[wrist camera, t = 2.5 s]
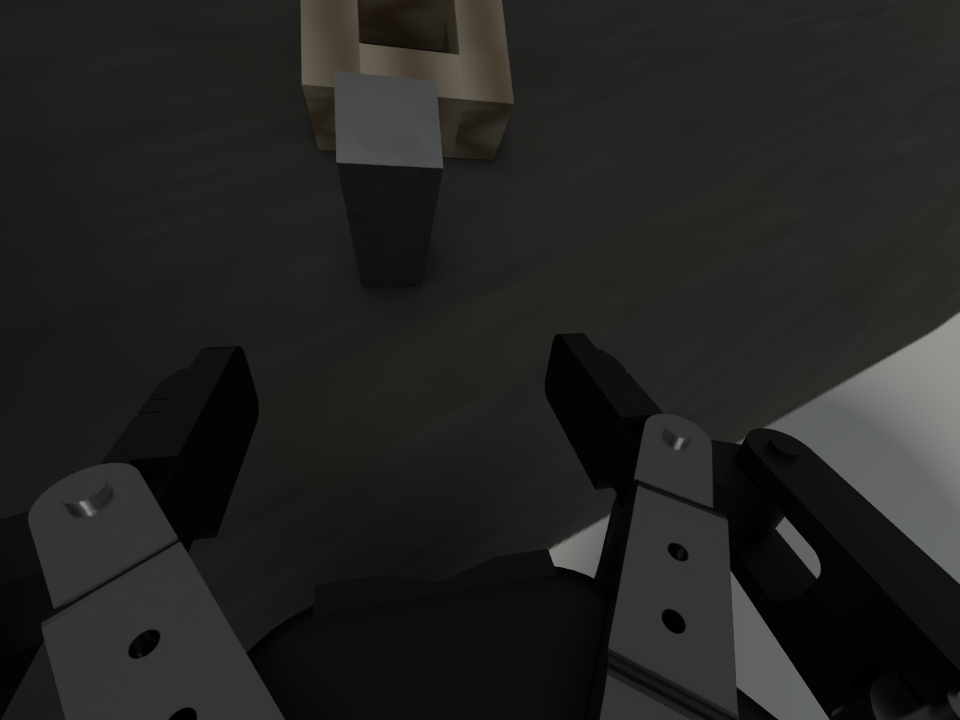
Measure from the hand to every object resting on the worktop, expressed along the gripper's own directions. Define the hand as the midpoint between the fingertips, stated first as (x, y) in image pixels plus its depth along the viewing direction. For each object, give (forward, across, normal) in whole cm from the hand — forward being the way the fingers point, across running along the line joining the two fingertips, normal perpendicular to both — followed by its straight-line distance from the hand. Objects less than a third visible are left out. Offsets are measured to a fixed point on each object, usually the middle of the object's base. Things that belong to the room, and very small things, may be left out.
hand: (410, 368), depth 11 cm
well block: (+33, -2, -7) cm, 34 cm away
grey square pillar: (+22, 0, +5) cm, 22 cm away
